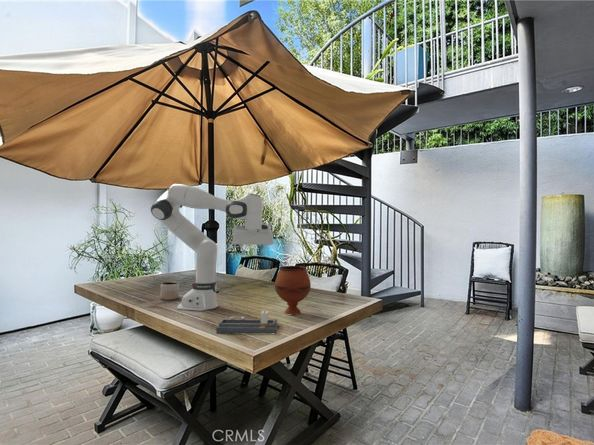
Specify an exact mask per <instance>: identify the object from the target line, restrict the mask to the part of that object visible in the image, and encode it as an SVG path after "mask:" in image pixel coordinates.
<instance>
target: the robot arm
mask: <svg viewBox="0 0 594 445" xmlns="http://www.w3.org/2000/svg"><path fill="white" fill-rule="evenodd" d="M183 207H185V208H189V209H197V210H203V209H204V210H216V211H220V212H224V213H225V214H226V216H228V218H230V219H233V220H239V221H240V220H241V221H244V225H235V226H234V227H233V228H232V234H233V236H232V243H233V245H239V248H240V249H241V254H244V255H245V254H246V249H244V245H254V246H255V245H262V246H263V249H261V250H260V254H262V255H264V254H265V250H266V248H267V246H270V245H273V244H274V234H273V231H272V230H271V229H272V226H271V225H270V224H267V223H264V222H263V216H262V214H263V198H262V197H261V196H260V195H258V194H254V193H246V194H245V195H244V196H242V197H239V198H237V199H233V200H231V201H230V200H227V199H224V198H221V197H217V196H215V195H213V194H211V193H210V192H207V191H205V190H203V189H201V188H199V187H196V186H193V185H188V184H182V183H173V184H172V185H170V187H169V188H168V189H167V190H166V191H165V192H163V193H162V194H161V195H160V196H159V197H158V198H157V199H156V201H154V202H153V204H152V205H151V206H150V213H151V215H152V216H153V217H154V218H155V219H157V220H159V221H160V222H161V223H162V224H163V225H164V226H165V228H166V229H168V230H169V231H170V233H172V234H173V235H174V236H175V237H177V238H178V239H179V240H180V241H181V242H183V244H185V245H186V246H188V247H189V248H190V249H191V250H192V251H194V252H195V253H196V261H195V262H196V264H195V281H193V283H192V284H191V287H192V288H191V289H190V290H189V291H188V292H186V293H185V294H184V295H183V296H182V297H181V303H178V305H177V306H176V309H177V310H183V311H196V312H197V311H199V312H203V311H207V310H212V309H213V310H214V309H216V308H218V307H219V303H218V299H217V298H218V297H217V289H218V287H217V286H218V285H217V278H216V277H217V276H216V275H217V273H216V272H217V271H216V270H217V262H218V260H217V259H218V245H217V243H216V242H215V241H214V240H212V239H211V238H209V237H208V236H207V235H206V234H205V233H204V232H202V230H200V229H199V228H198V227H197V226H196V225H195V224H194V223H193V222H192V221H190V220H189V219H188V218H187V217H186V216H184V215H183V214H182V213H181V211H180V208H181V209H182V208H183Z"/></svg>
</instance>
